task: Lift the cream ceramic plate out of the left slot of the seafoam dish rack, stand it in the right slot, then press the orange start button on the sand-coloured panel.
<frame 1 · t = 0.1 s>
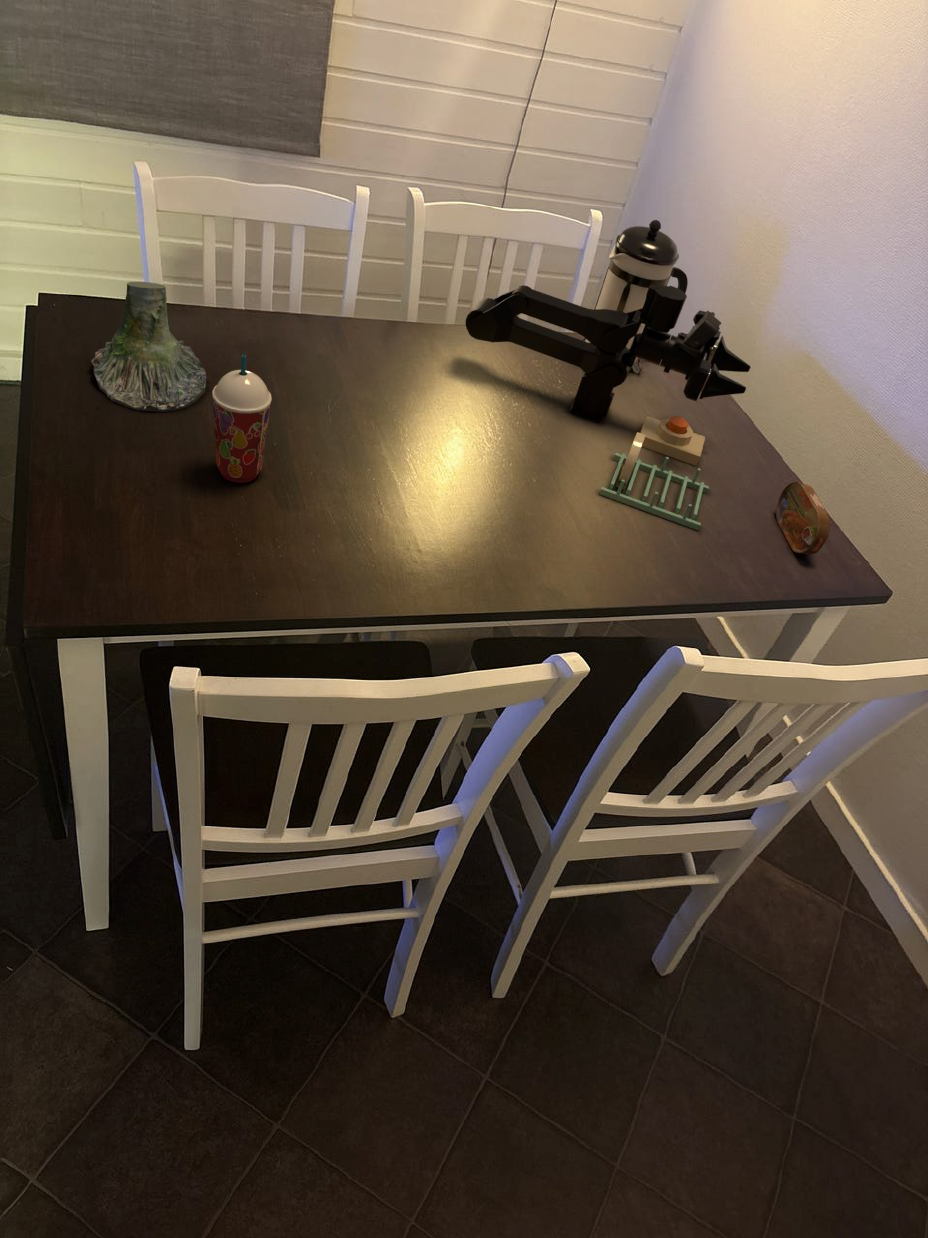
hand: (747, 379, 162), 17 cm above the table, tool horizontal, fingers open, 9 cm apart
tree stump: (149, 379, 152), on the table
start button: (677, 425, 169), point 4 cm above the table, slide at 0.1 cm
smoothie: (239, 473, 139), on the table
tin: (791, 537, 158), on the table
coffee press: (612, 360, 194), on the table
plate: (622, 481, 160), resting in rack
rack: (654, 492, 159), on the table
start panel: (669, 445, 172), on the table
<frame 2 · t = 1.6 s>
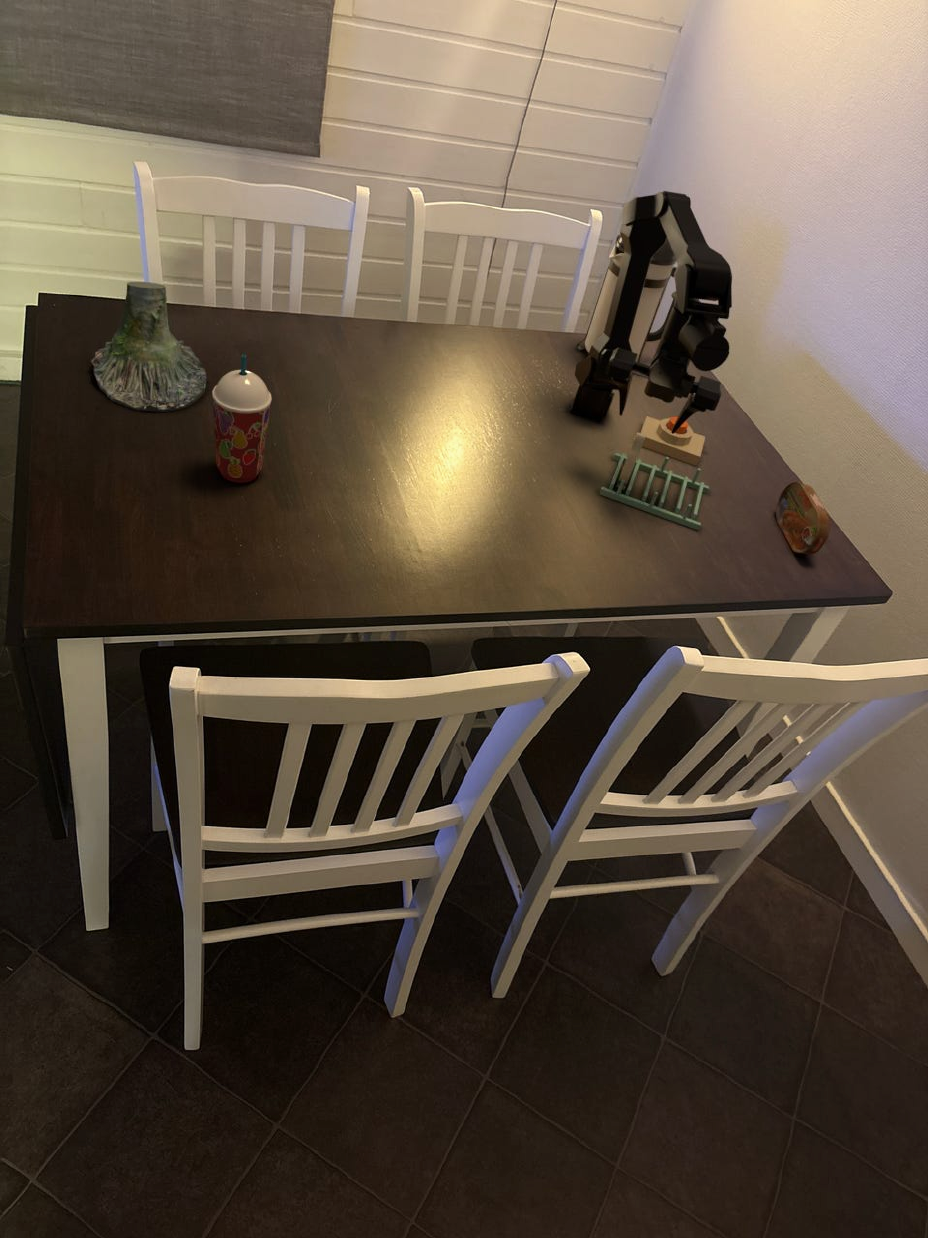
hand: (646, 423, 152), 12 cm above the table, tool pointing down, fingers open, 9 cm apart
nothing on the table moved.
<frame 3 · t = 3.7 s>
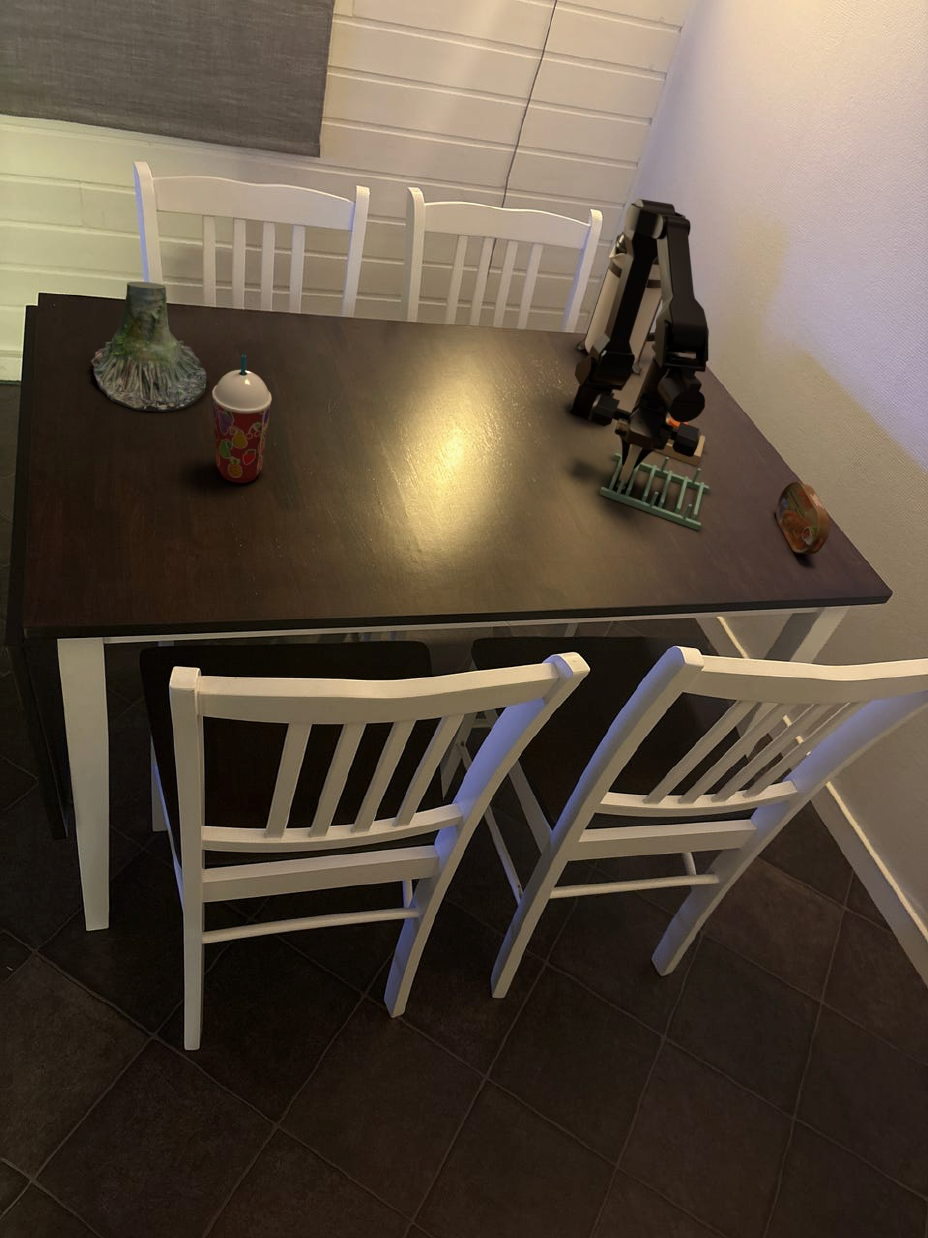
hand: (628, 465, 157), 3 cm above the table, tool pointing down, fingers closed on plate, 2 cm apart
plate: (622, 481, 160), resting in rack, touching gripper
everything else where it was.
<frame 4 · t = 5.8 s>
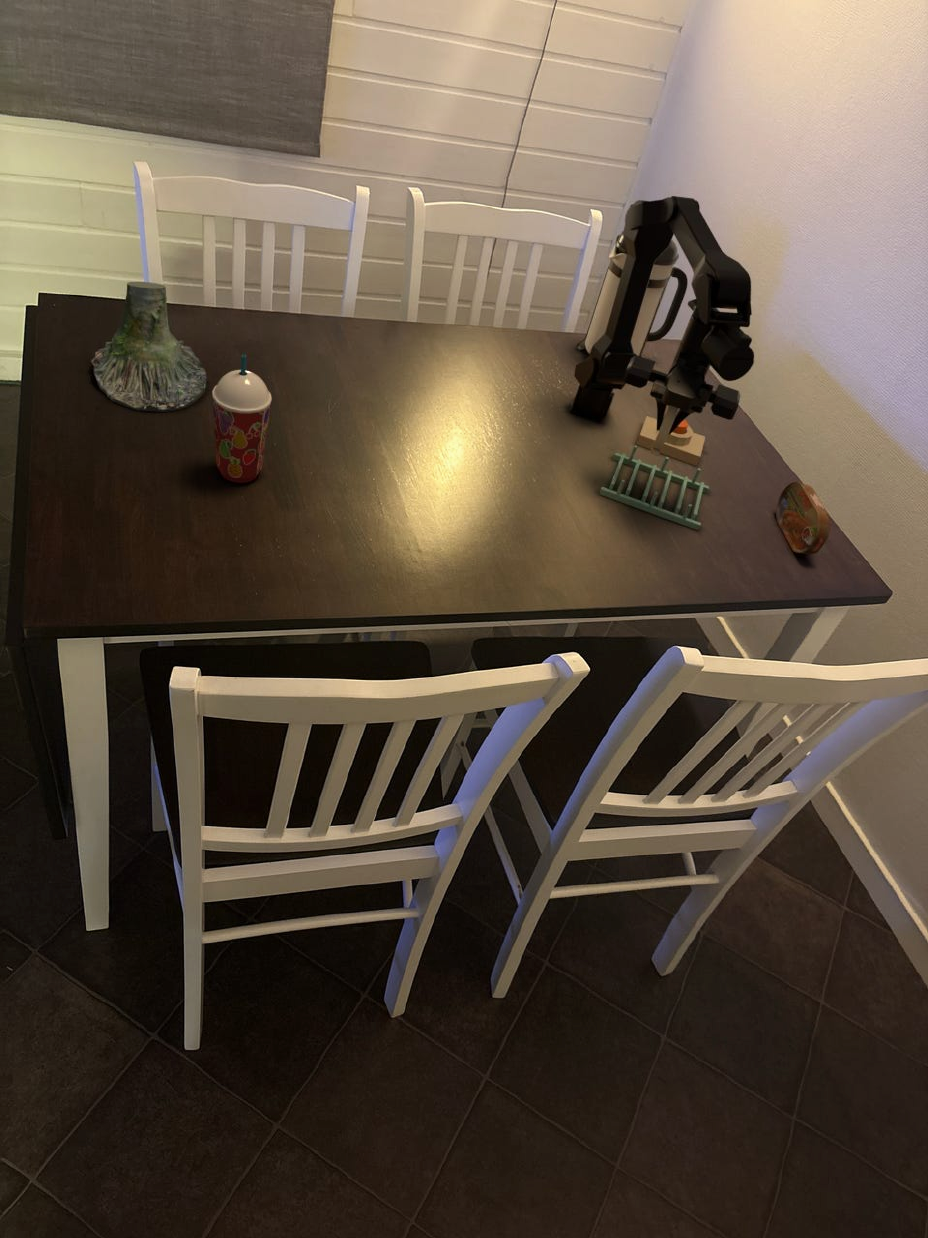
hand: (663, 431, 151), 12 cm above the table, tool pointing down, fingers closed on plate
plate: (656, 447, 153), point 9 cm above the table, touching gripper
everything else where it was.
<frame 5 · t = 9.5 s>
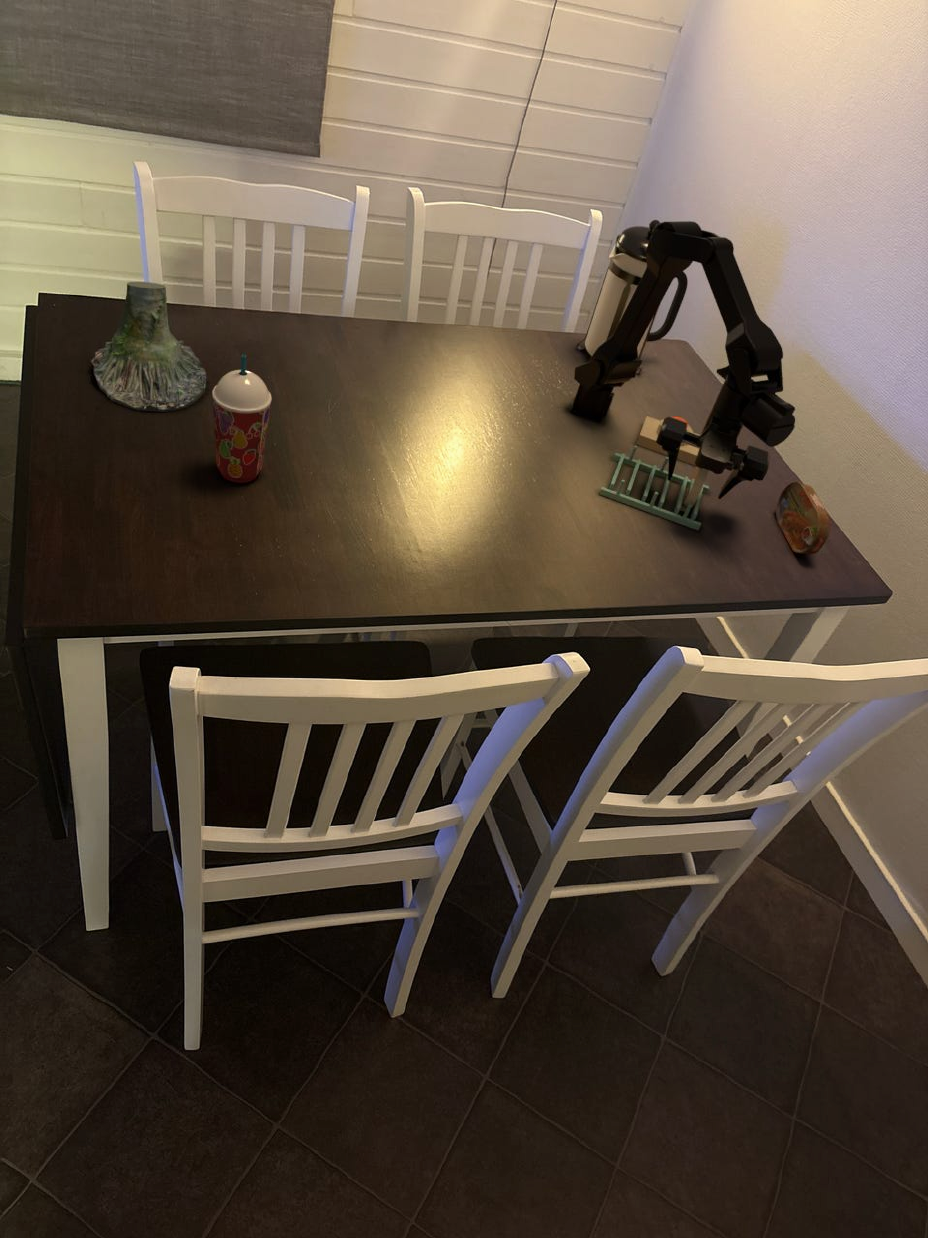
hand: (694, 488, 156), 4 cm above the table, tool pointing down, fingers open, 9 cm apart
plate: (686, 504, 159), resting in rack
everything else where it was.
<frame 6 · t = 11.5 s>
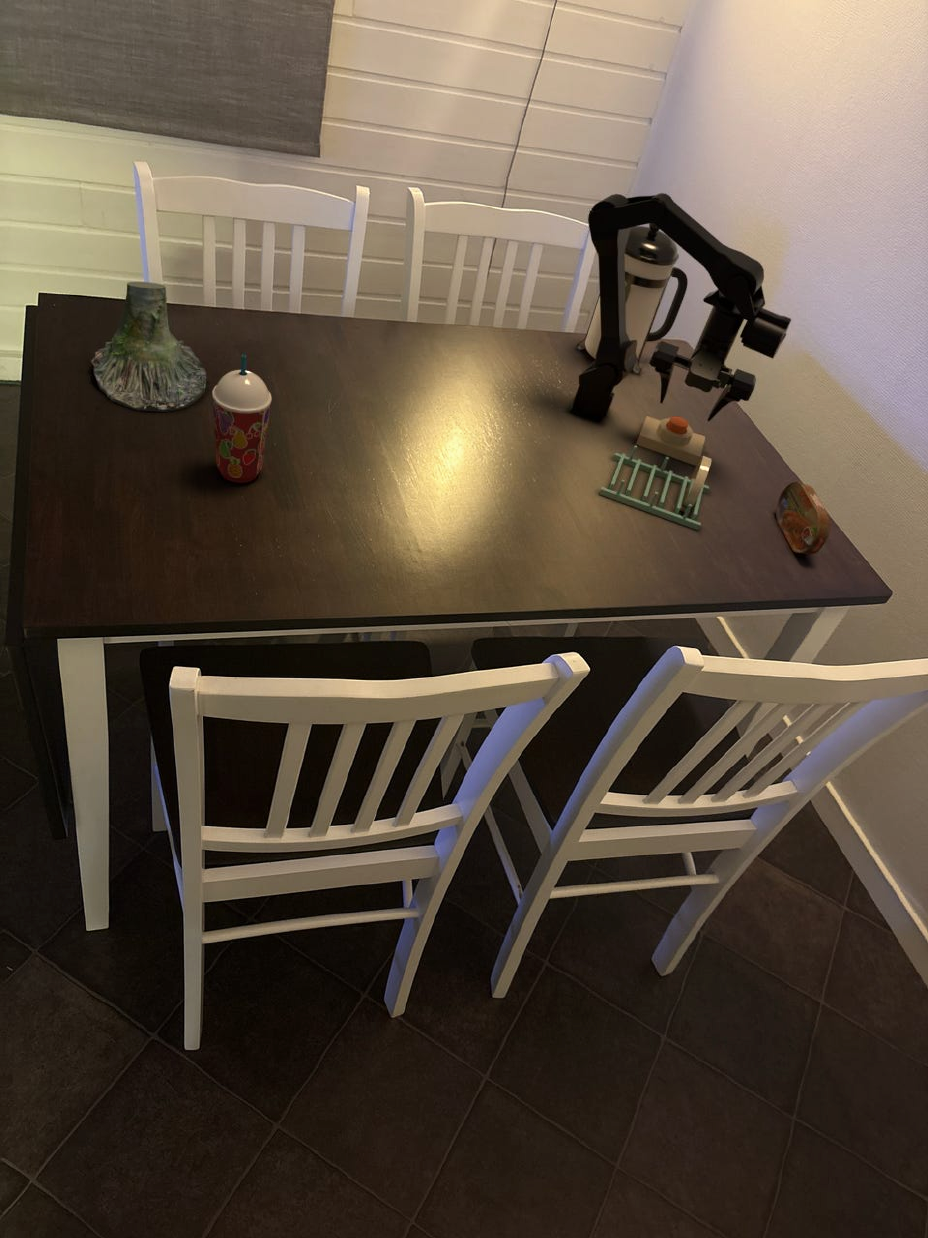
hand: (684, 411, 166), 8 cm above the table, tool pointing down, fingers open, 9 cm apart
nothing on the table moved.
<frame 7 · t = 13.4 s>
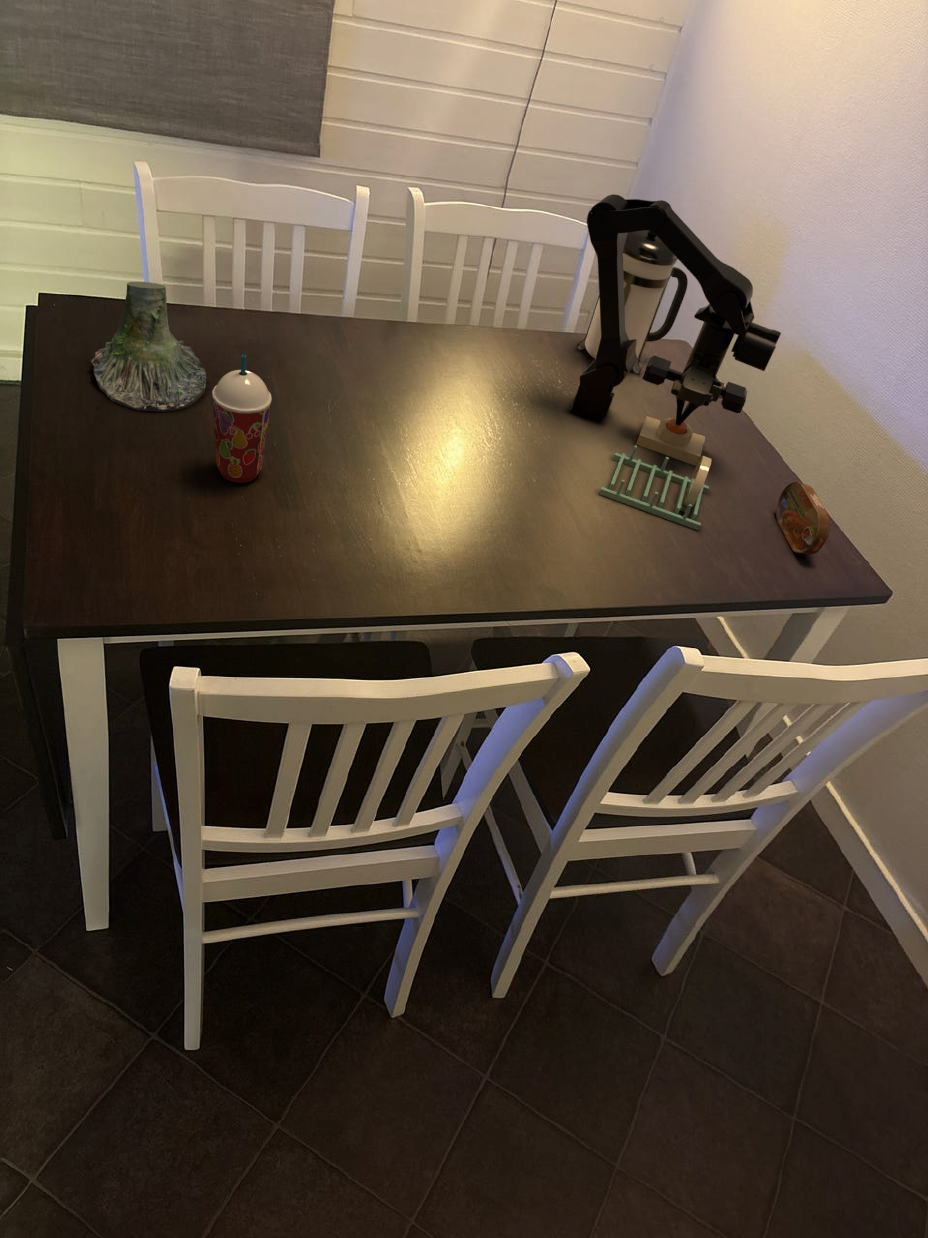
hand: (678, 423, 169), 5 cm above the table, tool pointing down, fingers closed, pressing on start button
start button: (676, 427, 170), point 4 cm above the table, slide at -0.4 cm, touching gripper
everything else where it was.
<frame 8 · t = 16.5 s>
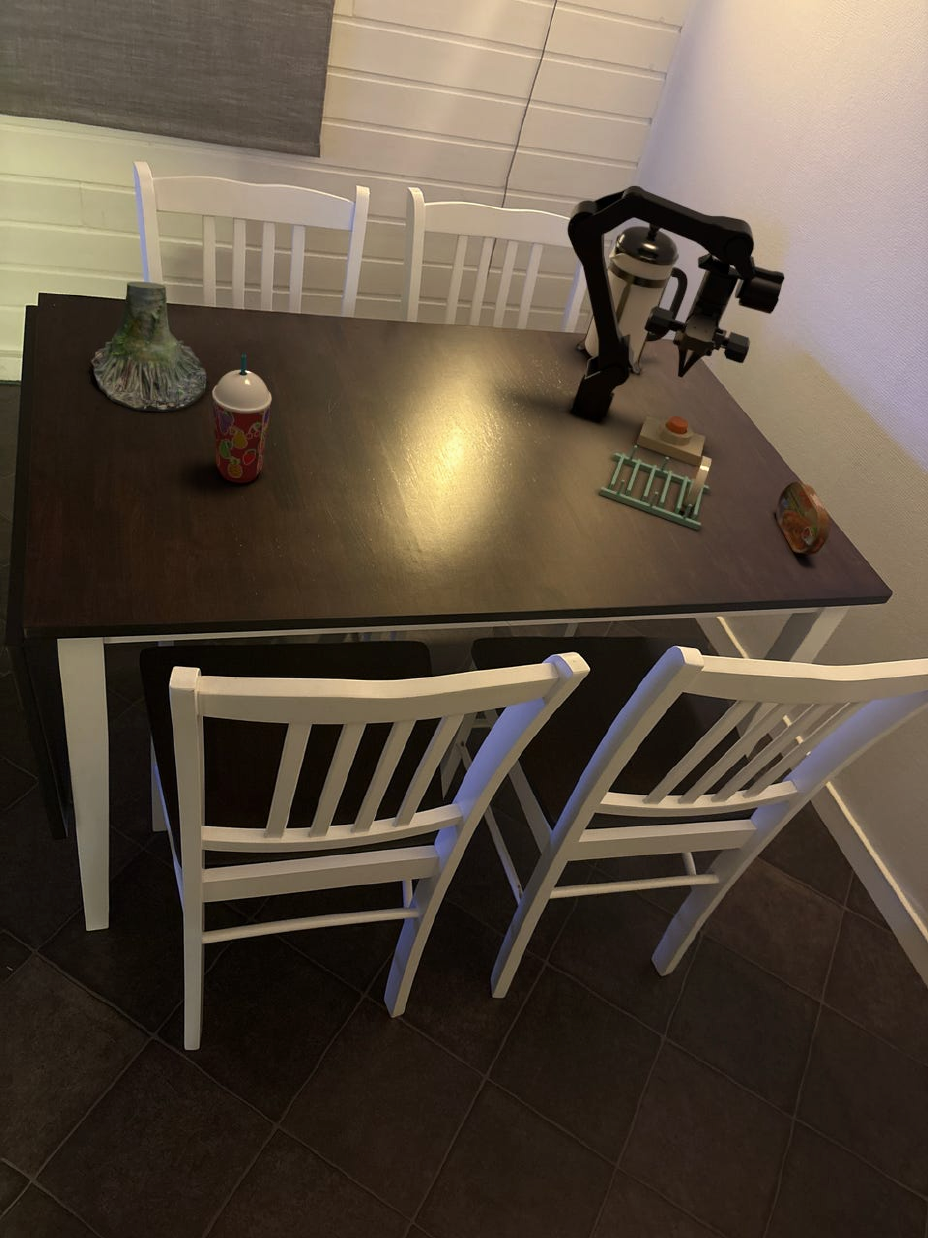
hand: (680, 376, 167), 12 cm above the table, tool pointing down, fingers closed
start button: (677, 425, 169), point 4 cm above the table, slide at 0.1 cm
everything else where it was.
at the end: plate 0.0 cm from the target spot on the rack, point 0.0 cm above the rack's base; plate tilted 0°; start button pushed in 1.1 cm at the most during the clip, back to where it started at the end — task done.
